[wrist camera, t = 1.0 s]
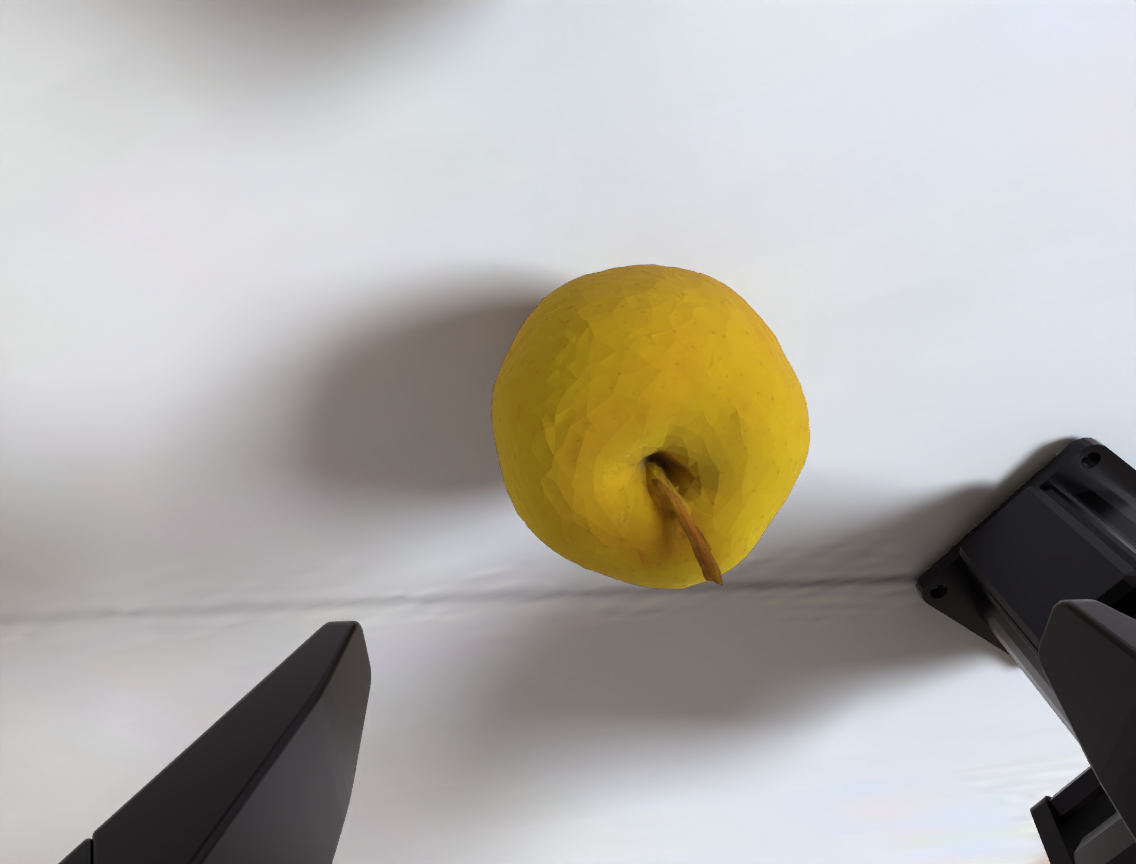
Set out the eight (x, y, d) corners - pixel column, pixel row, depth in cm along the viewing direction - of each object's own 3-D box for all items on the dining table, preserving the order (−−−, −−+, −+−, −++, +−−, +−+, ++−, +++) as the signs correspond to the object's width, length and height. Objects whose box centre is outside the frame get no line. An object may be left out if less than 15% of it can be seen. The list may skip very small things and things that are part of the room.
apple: (702, 479, 20) (783, 703, 13) (481, 432, 19) (439, 643, 12) (787, 261, 17) (950, 396, 10) (533, 196, 17) (517, 293, 9)
